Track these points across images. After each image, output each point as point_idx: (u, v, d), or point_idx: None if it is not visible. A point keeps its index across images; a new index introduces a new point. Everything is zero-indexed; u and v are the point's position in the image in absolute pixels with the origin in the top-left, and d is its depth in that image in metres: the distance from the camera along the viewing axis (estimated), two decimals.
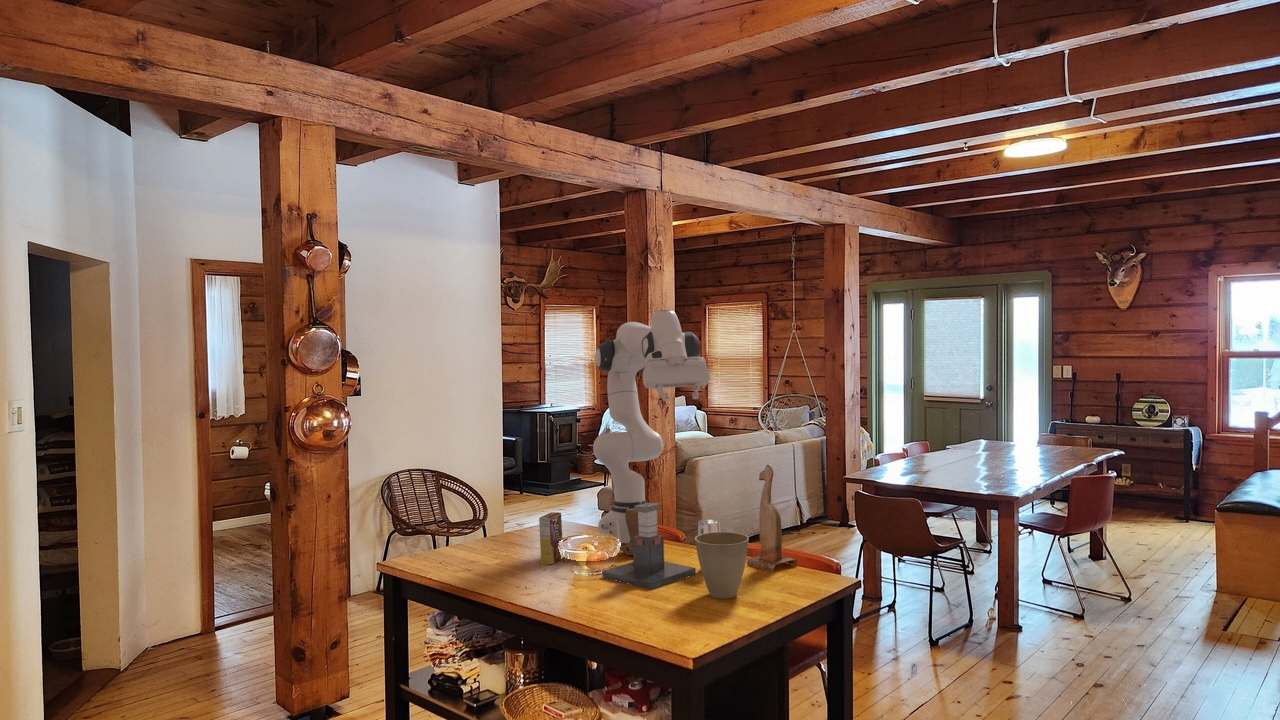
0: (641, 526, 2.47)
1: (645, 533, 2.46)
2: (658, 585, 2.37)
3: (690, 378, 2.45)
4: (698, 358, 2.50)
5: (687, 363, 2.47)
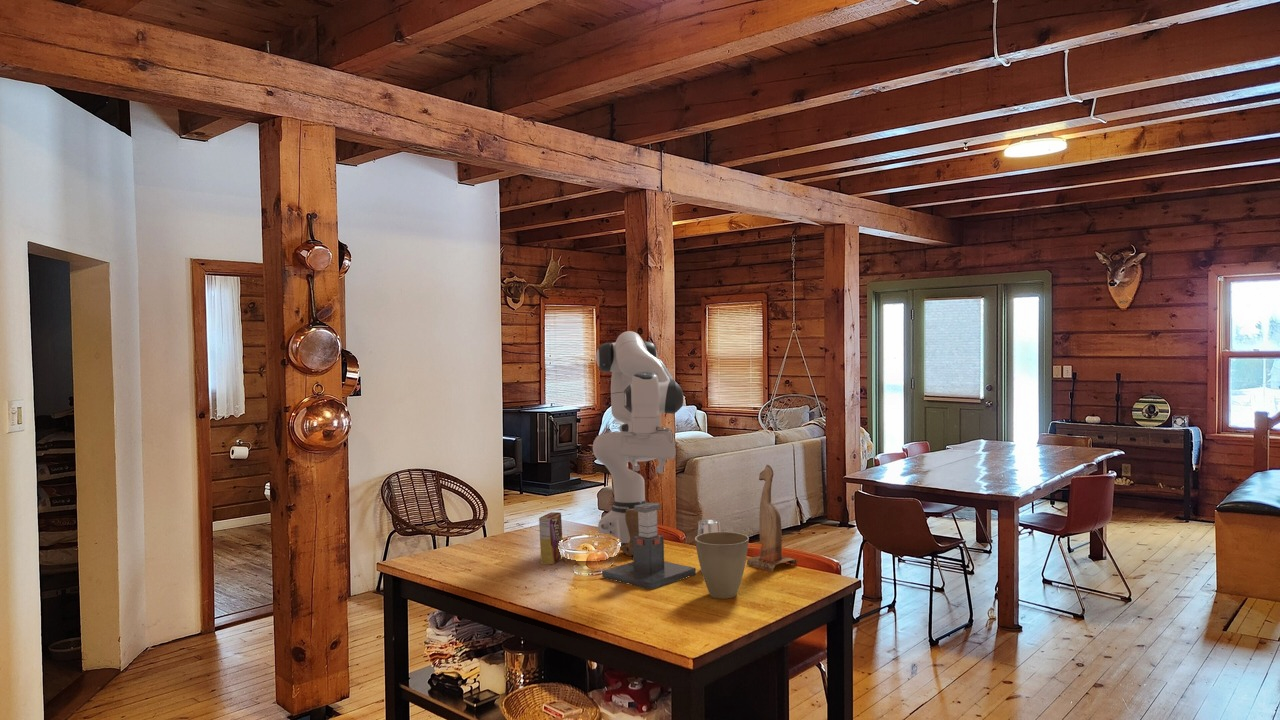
0: (641, 526, 2.47)
1: (645, 533, 2.46)
2: (658, 585, 2.37)
3: (652, 454, 2.44)
4: (665, 430, 2.42)
5: (651, 437, 2.44)
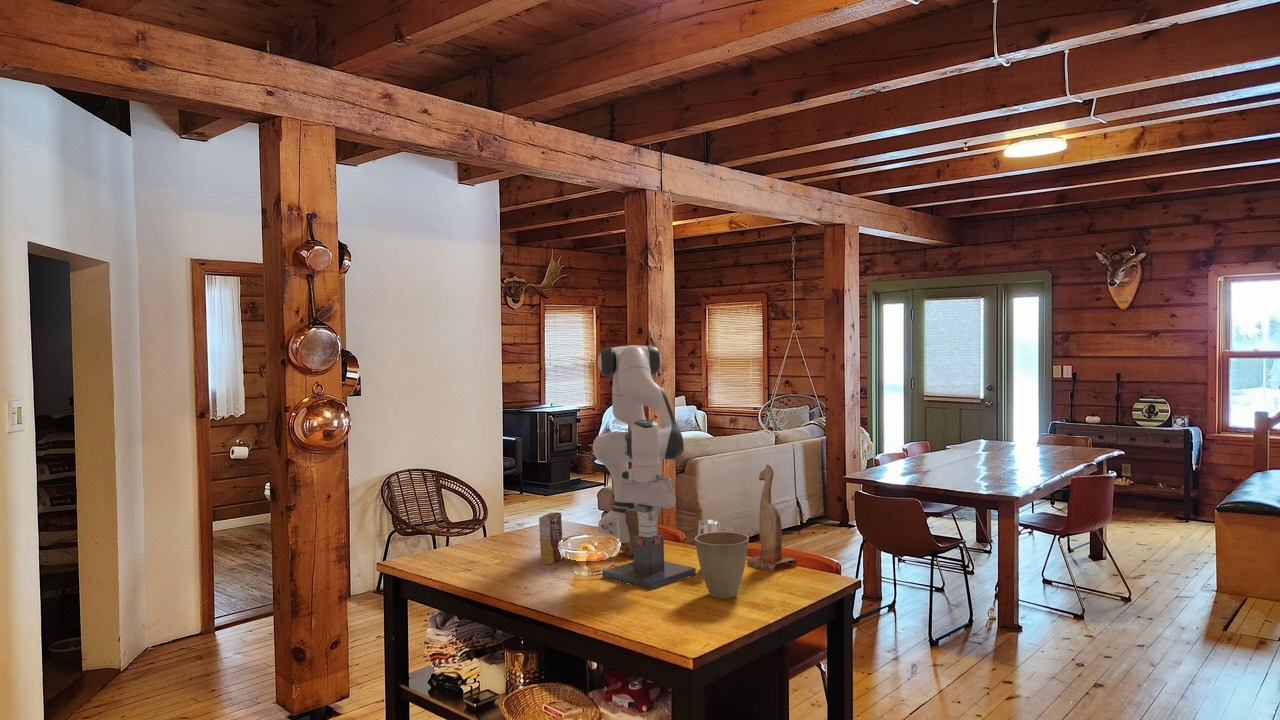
0: (641, 526, 2.47)
1: (645, 533, 2.46)
2: (658, 585, 2.37)
3: (652, 503, 2.44)
4: (665, 479, 2.42)
5: (651, 486, 2.44)
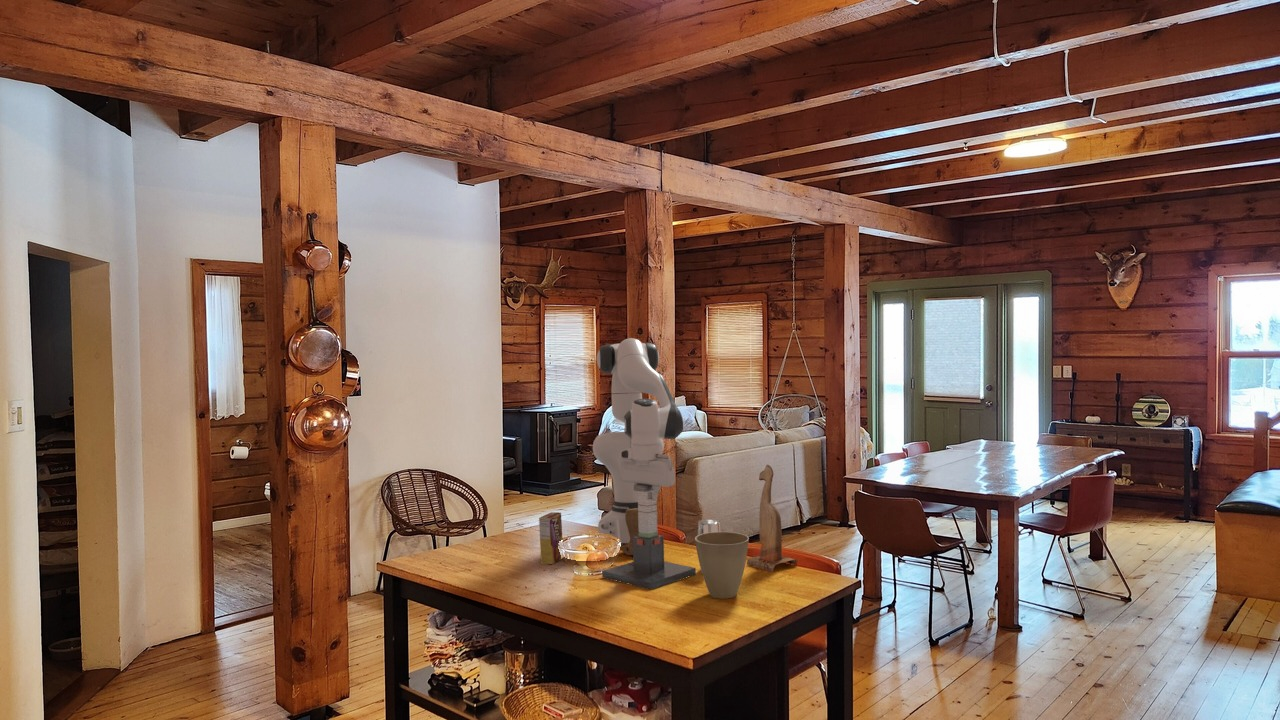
0: (641, 505, 2.47)
1: (644, 512, 2.46)
2: (658, 585, 2.37)
3: (651, 481, 2.44)
4: (665, 458, 2.42)
5: (651, 464, 2.44)
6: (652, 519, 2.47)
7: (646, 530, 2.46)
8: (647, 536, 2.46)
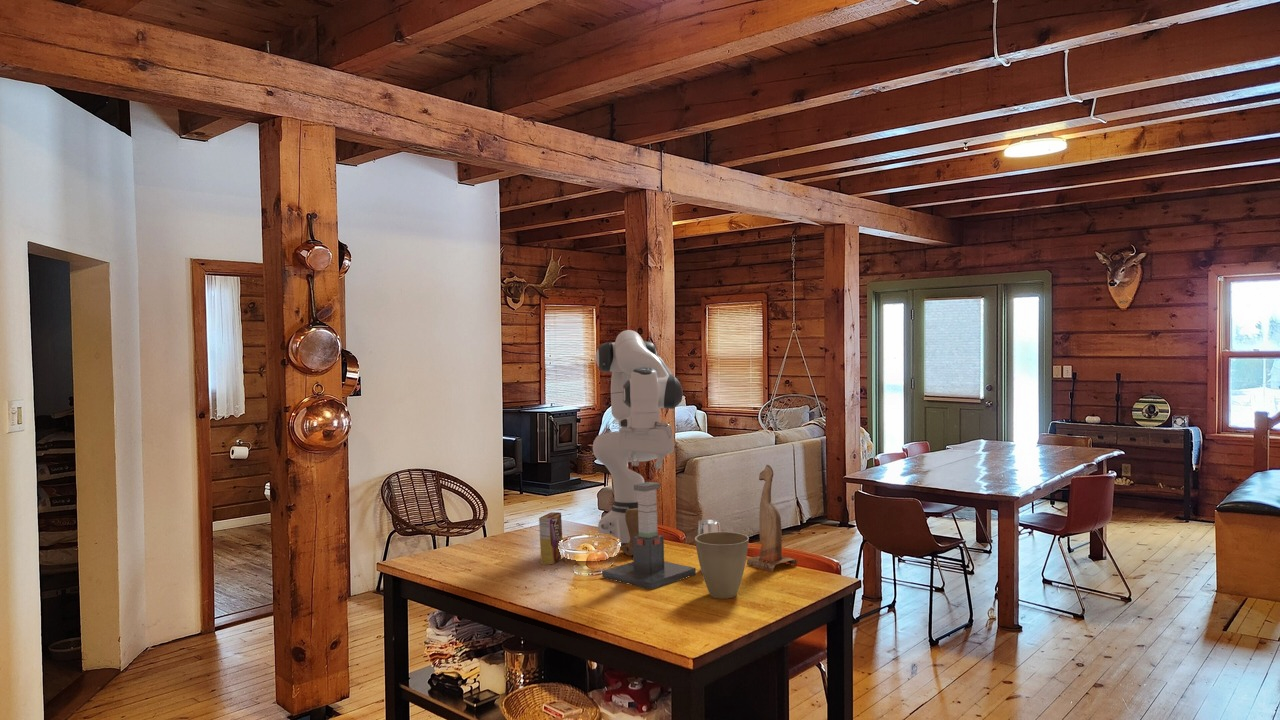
0: (641, 505, 2.47)
1: (644, 512, 2.46)
2: (658, 585, 2.37)
3: (650, 449, 2.44)
4: (664, 425, 2.42)
5: (650, 432, 2.44)
6: (652, 519, 2.47)
7: (646, 530, 2.46)
8: (647, 536, 2.46)
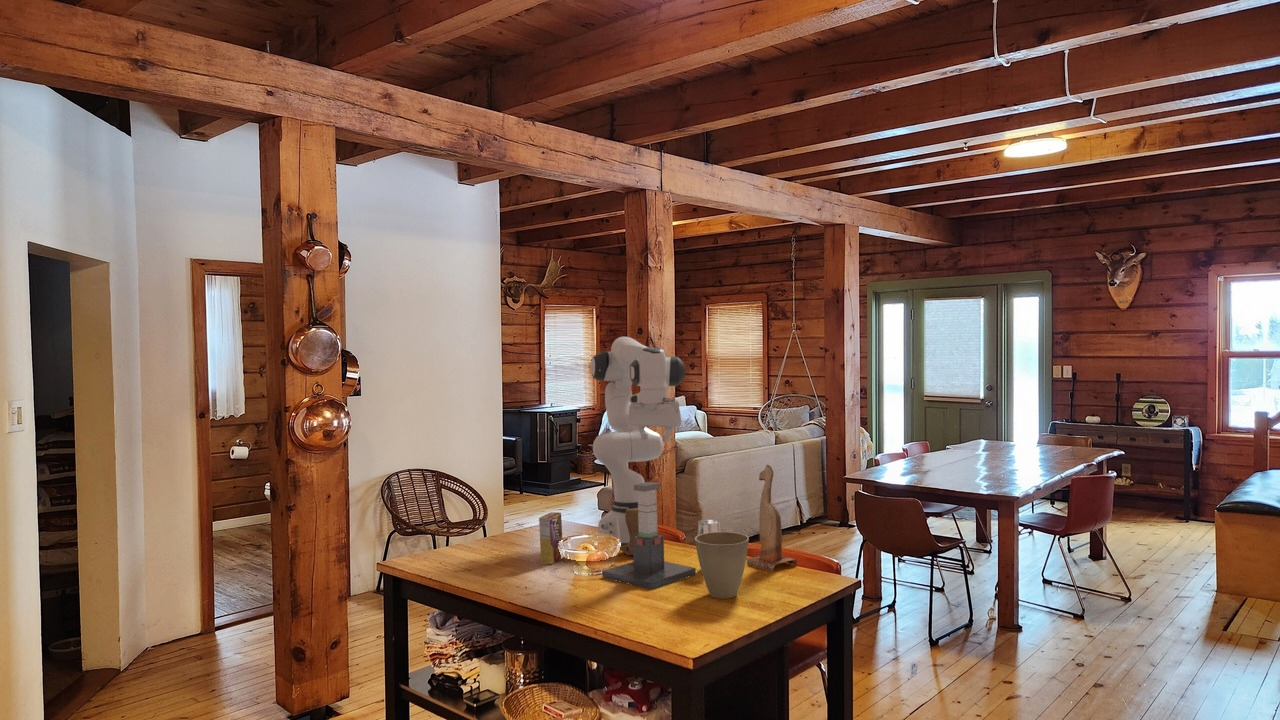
0: (641, 505, 2.47)
1: (644, 512, 2.46)
2: (658, 585, 2.37)
3: (659, 423, 2.62)
4: (672, 401, 2.59)
5: (659, 407, 2.62)
6: (652, 519, 2.47)
7: (646, 530, 2.46)
8: (647, 536, 2.46)
